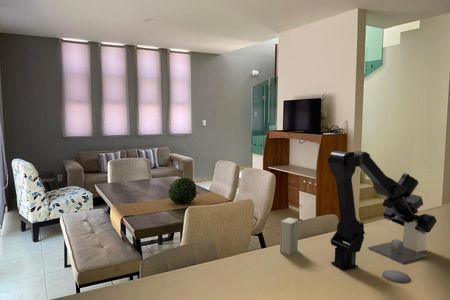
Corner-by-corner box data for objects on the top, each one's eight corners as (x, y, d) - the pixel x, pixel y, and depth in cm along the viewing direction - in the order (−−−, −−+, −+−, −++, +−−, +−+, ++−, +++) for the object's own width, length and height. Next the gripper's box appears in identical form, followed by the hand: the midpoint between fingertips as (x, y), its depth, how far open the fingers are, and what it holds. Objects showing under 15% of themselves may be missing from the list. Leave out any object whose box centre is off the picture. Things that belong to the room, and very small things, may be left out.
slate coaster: (398, 285, 106) (398, 283, 106) (376, 274, 113) (376, 272, 113) (415, 279, 109) (415, 278, 109) (393, 269, 117) (393, 268, 117)
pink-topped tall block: (415, 252, 131) (418, 221, 129) (402, 247, 136) (404, 217, 134) (425, 250, 133) (427, 219, 132) (412, 245, 138) (414, 215, 137)
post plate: (403, 264, 121) (403, 251, 120) (368, 248, 134) (368, 237, 134) (427, 257, 126) (428, 245, 126) (391, 243, 140) (392, 232, 139)
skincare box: (287, 247, 135) (288, 216, 133) (298, 250, 132) (299, 219, 130) (279, 252, 130) (280, 220, 128) (289, 255, 127) (290, 223, 126)
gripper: (435, 194, 122) (452, 221, 128) (389, 184, 138) (406, 208, 144) (419, 219, 119) (437, 245, 125) (374, 205, 136) (392, 229, 142)
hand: (417, 230), depth 134 cm, fingers closed on pink-topped tall block, 6 cm apart
